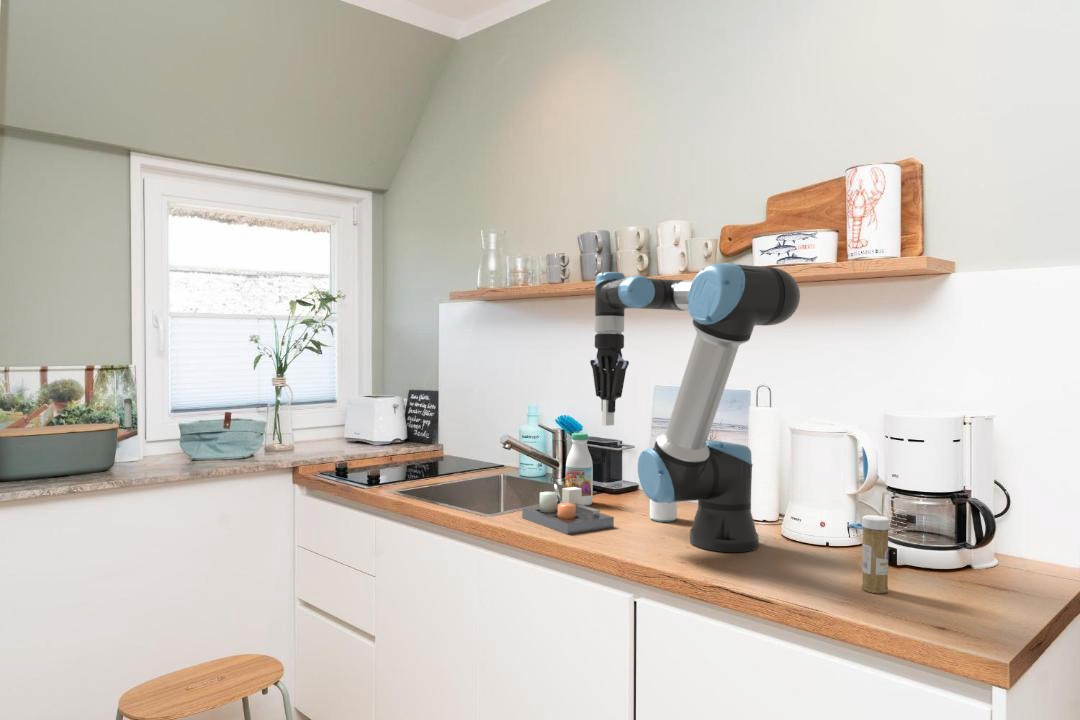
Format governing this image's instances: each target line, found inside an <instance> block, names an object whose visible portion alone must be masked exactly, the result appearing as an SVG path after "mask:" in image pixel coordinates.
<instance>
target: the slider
mask: <svg viewBox="0 0 1080 720" xmlns="http://www.w3.org/2000/svg"><path fill="white" fill-rule="evenodd" d="M561 500H562V502H564V503H581V502H582V489H581V488H577V487H570V488H565V487H563V488H562V489H561Z"/></svg>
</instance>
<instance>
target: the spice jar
mask: <svg viewBox="0 0 1080 720" xmlns="http://www.w3.org/2000/svg"><path fill="white" fill-rule="evenodd" d="M861 518H862V520H861V526H862V543H861V544H862V545H861V546H862V547H861V548H862V550H861V551H862V554H861V555H862V556H861V557H862V559H861V571H862V581H861V582H862V583H861V589H862V590H864V591H866V592H868V593H872V594H886V593H888V592H889V586H888V585H889V583H888V579H889V577H888V576H889V575H888V574H889V529H890V525H891V523H890V522H891V521H890V519H889V517H886V516H883V515H875V514H867V515H863V516H862V517H861Z"/></svg>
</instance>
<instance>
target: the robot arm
mask: <svg viewBox="0 0 1080 720" xmlns="http://www.w3.org/2000/svg"><path fill="white" fill-rule="evenodd" d="M625 276H626V275H625V273H622V272H620V271H619V272H617V271H606V272H599V273H598V274H597V275H596V276H595V286H594V290H595V291H594V298H595V299H594V302H595V303H594V308H595V309H594V313H595V315H594V332H596V334H595V335H594V348H595V349H597V352H596V357H595V358H594V359H590V361H589V363H590V365H591V369H592V375H593V376H592V377H593V382H594V383H593V384H594V390H595V396H596V397H599V398H600V400H601V412H602V414H601V415H602V416H601V417H602V419H601V423H602V426H605V427H606V426H608V427H609V426H614V425H615V413H616V400H617V399H620V398H622V394H623V389H624V382H625V380H626V379H625V378H626V373H627V372H626V371H627V368H628V366H629V365H630V362H629V360H625V359H624V358H623V354H622V349H624V348H625V335H624V334H623V332H625V309H640V310H641V309H643V310H668V311H678V312H679V311H682V312H685V311H688V313H689V315H690V317H691V318H692V322H691V325H692V326H693V328H694V329H695V331H696V335H695V338H694V341H693V345H692V349H691V351H690V355H689V357H688V361H687V364H686V367H685V369H684V374H683V377H682V380H681V384H680V386H679V389H678V393H677V396H676V399H675V402H674V406H673V410H672V412H671V415H670V419H669V421H668V425H667V428H666V430H664V431H663V432H660V433H659V434H658V435H657V437H656V440H655V443H654V446H653V448H649V447H648V448H647V449H645V450H643V451H642V452H640V454H639V456H638V460H637V475H638V480H639V483H640V486H641V489H642V491H643V493H644V494H645V495H646V497H647V498H648V499H649V500H650V499H651V500H652V501H654V502H657V503H673V502H677V503H678V502H688V501H689V502H690V501H697V510H696V513H695V516H694V519H693V521H692V522H693V523H692V527H691V528H690V530H689V542H690V544H691V545H693V546H695V547H697V548H700V549H704V550H708V551H713V552H720V553H721V552H722V553H745V552H751V551H754V550H757V549H758V548H759V542H760V541H759V540H760V538H759V533H758V532H757V529H756V526H755V521H754V518H753V514H752V476H753V475H752V474H753V471H752V469H753V466H754V465H753V463H752V460H753V459H752V451H751V449H750V447H748V446H747V445H744V444H740V443H739V444H738V443H732V442H727V441H726V442H725V441H720V440H719V441H718V440H711V439H708V437H709V435H710V432H711V429H712V426H713V423H714V420H715V417H716V414H717V411H718V408H719V407H720V403H721V399H722V397H723V393H724V391H725V388H726V384H727V382H728V380H729V377H730V373H731V370H732V367H733V364H734V362H735V359H736V356H737V353H738V349H739V347H740V345H743V344H745V343H748V342H749V341H750V339H751V336H752V334H753V331H754V327H756V326H775V325H778V324H781V323H784V322H785V321H787V320H788V319H790V318H791V317H792V316H793V315H794V314H795V312H796V311H797V309H798V307H799V303H800V301H801V291H800V287H799V284H798V282H797V281H796V279H795V277H793V276H792V274H790V273H788V271H785V270H784V269H782V268H777V267H773V266H758V265H747V264H737V263H734V262H733V263H732V262H726V263H712V264H710V265H707V266H706V267H704V268H702V269H701V270H700V271H699V272H698V273H696V275H695V277H694V278H693V279H660V278H650V277H649V278H648V277H646V276H643V275H631V276H629V277H625Z"/></svg>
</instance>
